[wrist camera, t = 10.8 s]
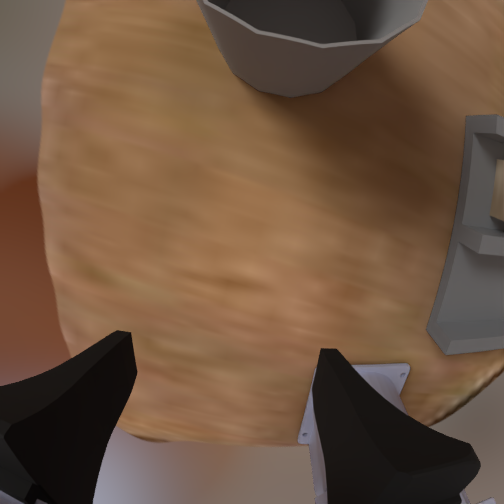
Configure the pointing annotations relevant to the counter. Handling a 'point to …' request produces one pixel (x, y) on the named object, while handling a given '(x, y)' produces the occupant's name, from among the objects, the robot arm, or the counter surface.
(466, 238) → the gray i-beam stand
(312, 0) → the cup
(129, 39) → the counter surface
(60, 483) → the robot arm
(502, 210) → the peg
